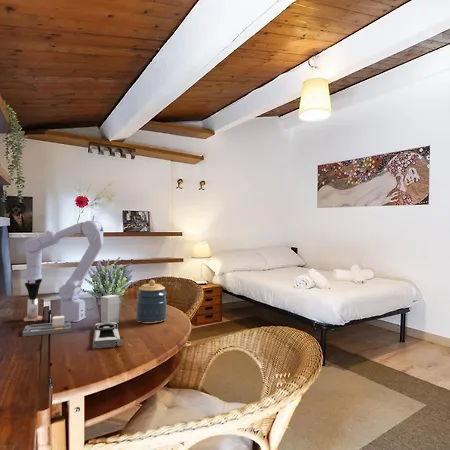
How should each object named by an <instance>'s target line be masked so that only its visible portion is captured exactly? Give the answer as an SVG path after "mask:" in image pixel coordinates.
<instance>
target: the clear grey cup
mask: <svg viewBox="0 0 450 450" xmlns="http://www.w3.org/2000/svg"><path fill="white" fill-rule="evenodd" d="M26 305H27V309H26V310H27V311H26V313H27V315H26V317H27V319H35V318H38V316H39V298H38V297H36V299H35V300H30V299H29V298H27V304H26Z"/></svg>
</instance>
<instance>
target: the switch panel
mask: <svg viewBox="0 0 450 450" xmlns="http://www.w3.org/2000/svg"><path fill="white" fill-rule="evenodd" d="M71 323H72V322H65V321H64V326H52V322H48V323H38V324H37V323H35V324H30V325H25V326H24V329H23V330H22V337H33V336H42V335H57V334H65V333H66V334H68V333H71V328H72V327H71Z"/></svg>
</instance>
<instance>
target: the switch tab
mask: <svg viewBox="0 0 450 450" xmlns="http://www.w3.org/2000/svg"><path fill="white" fill-rule="evenodd" d="M64 322H65V321H64V316H60V315H55V316H53V317H52V322H51V323H52V326H64Z"/></svg>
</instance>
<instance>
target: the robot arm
mask: <svg viewBox="0 0 450 450" xmlns="http://www.w3.org/2000/svg"><path fill="white" fill-rule="evenodd" d="M104 231H105V229H104V228H103V225H102V223H101V222H100V221H97V220H86V221H82V222H79V223H75V224H73V225H70V226H68V227H66V228H63V229H61V230H59V231H55V230H46V233H43V234H37V235H36V236H35V237H29V238H28V239H27V240H25V242H24V249H25V250H26V269H25V271H26V272H25V273H26V274H25V276H22V277H23V278H22V279H25V280H27V282H25V283H24V286H25V288H26V290H27V293H28V299H30V300H35V299H36V298H37V297H38V295H39V289H40V286H41V283H42V282H43V276H42V273H43V272H42V269H43V268H42V263H43V258H42V257H43V255H42V253H43V249H46V248H49V247H50V246H54V245H57V244H59V242H60V240H61V239H64V238H66V237H70V236H72V235H75V234H83V235H84V236H85V237H86V238H87V240H88V243H89V245H88V247H87V249H86V250H85V252H84V253H83V255H82V257H81V259H80V261H79V262H78V264H77V266H76V267H75V269H74V271H73V272H72V274H71V276H70V277H69V278H68V280H66V282H65V283H64V284H63V285H62V286H61V287H60V288H59V290H58V297H60V315H59V316H64V322H65V323H67V322H71V323H72V322H73V323H77V322H80V321H81V320H83V319H85V318H86V317H87V316H86V301H85V299H80V296H79V294H80V292H81V289H82V288H81V287H82V285H83V284H84V283H83V282H84V279H85V277H86V276H87V274H88V272H89V270H90V269H91V267H92V265H93V264H94V262H95V260H96V258H97V256H98V255H99V253H100V251H101V249H103V247H104Z"/></svg>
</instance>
